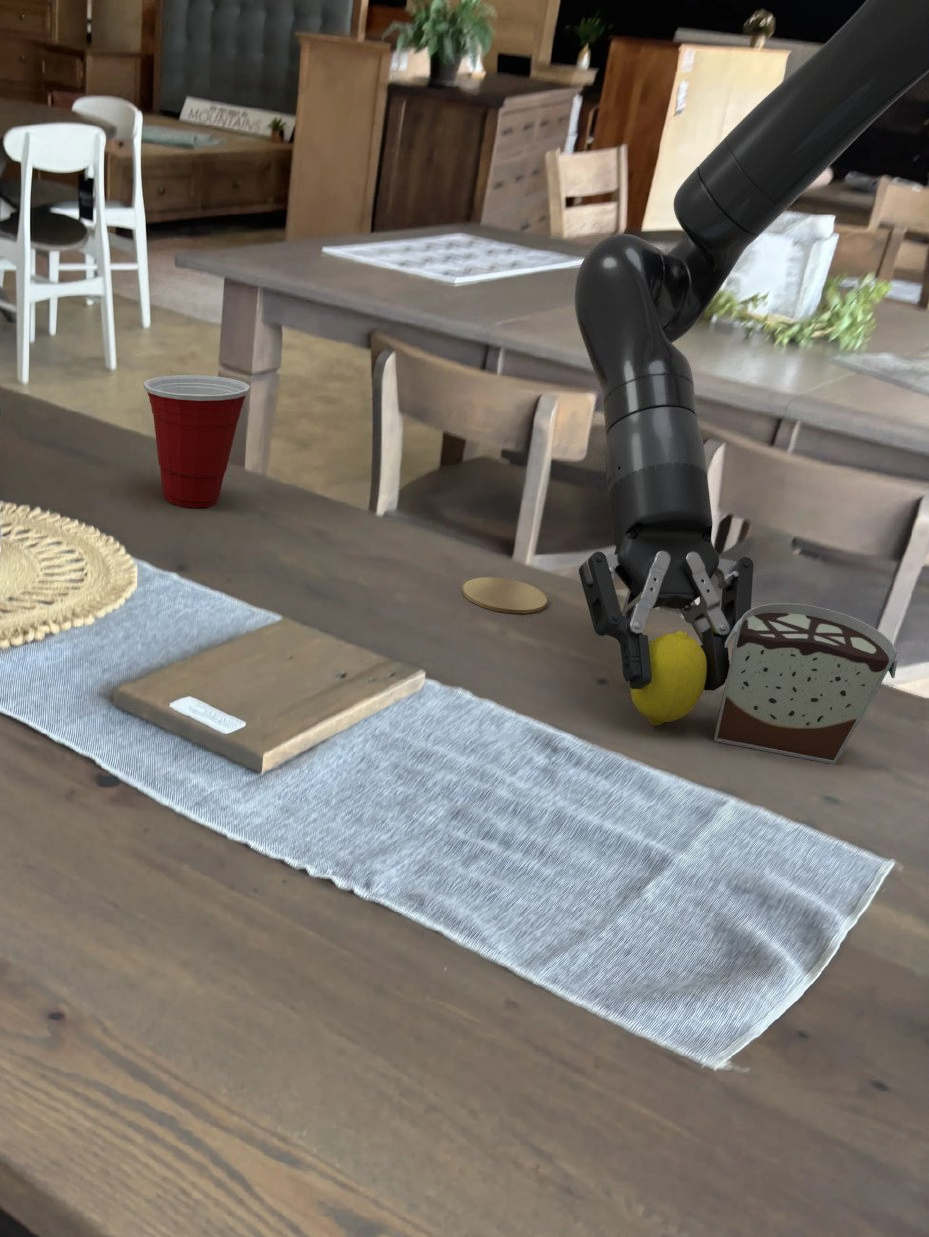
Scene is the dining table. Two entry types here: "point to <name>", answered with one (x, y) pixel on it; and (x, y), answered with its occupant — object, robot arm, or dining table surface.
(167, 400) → the plastic cup
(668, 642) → the lemon
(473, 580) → the coaster
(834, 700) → the food container
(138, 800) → the dining table surface
